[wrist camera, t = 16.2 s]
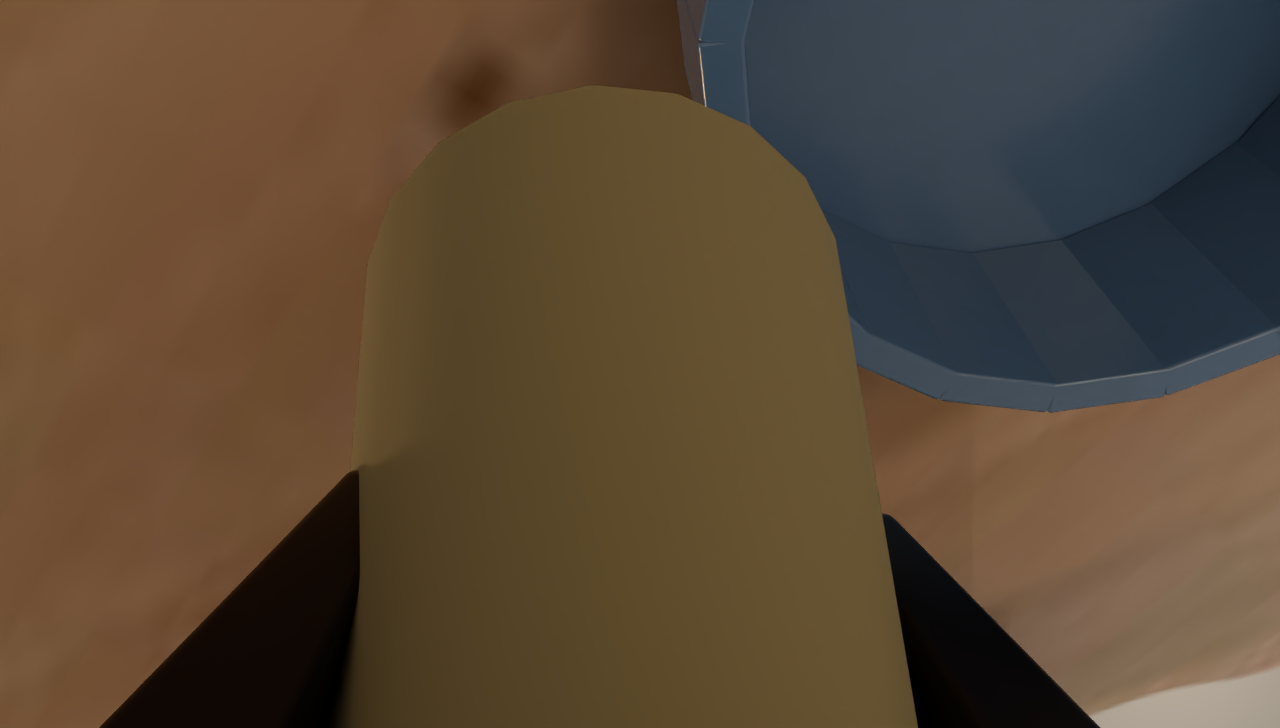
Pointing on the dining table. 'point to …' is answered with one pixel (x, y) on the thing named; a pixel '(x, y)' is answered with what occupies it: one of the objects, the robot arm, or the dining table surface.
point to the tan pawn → (614, 438)
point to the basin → (1025, 181)
